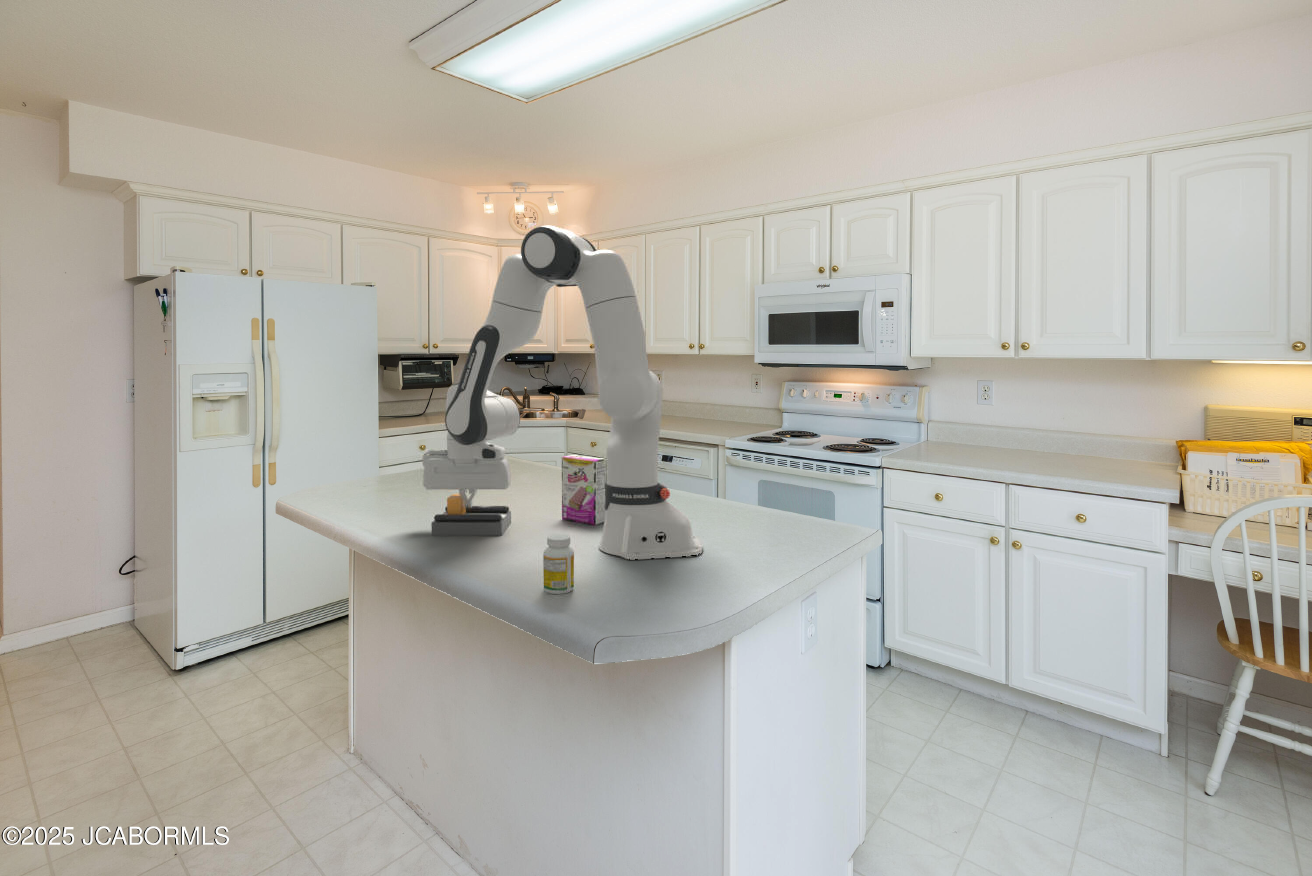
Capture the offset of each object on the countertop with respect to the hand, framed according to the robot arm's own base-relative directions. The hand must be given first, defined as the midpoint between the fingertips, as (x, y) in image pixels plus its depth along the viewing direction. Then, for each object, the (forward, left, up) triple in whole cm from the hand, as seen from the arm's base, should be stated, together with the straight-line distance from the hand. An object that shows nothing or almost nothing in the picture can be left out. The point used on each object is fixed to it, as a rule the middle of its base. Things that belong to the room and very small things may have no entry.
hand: (468, 507), depth 153 cm
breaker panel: (-1, 0, -5) cm, 5 cm away
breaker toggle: (+3, 0, -2) cm, 3 cm away
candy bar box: (-27, -8, -5) cm, 29 cm away
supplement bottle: (-26, +42, -5) cm, 50 cm away
